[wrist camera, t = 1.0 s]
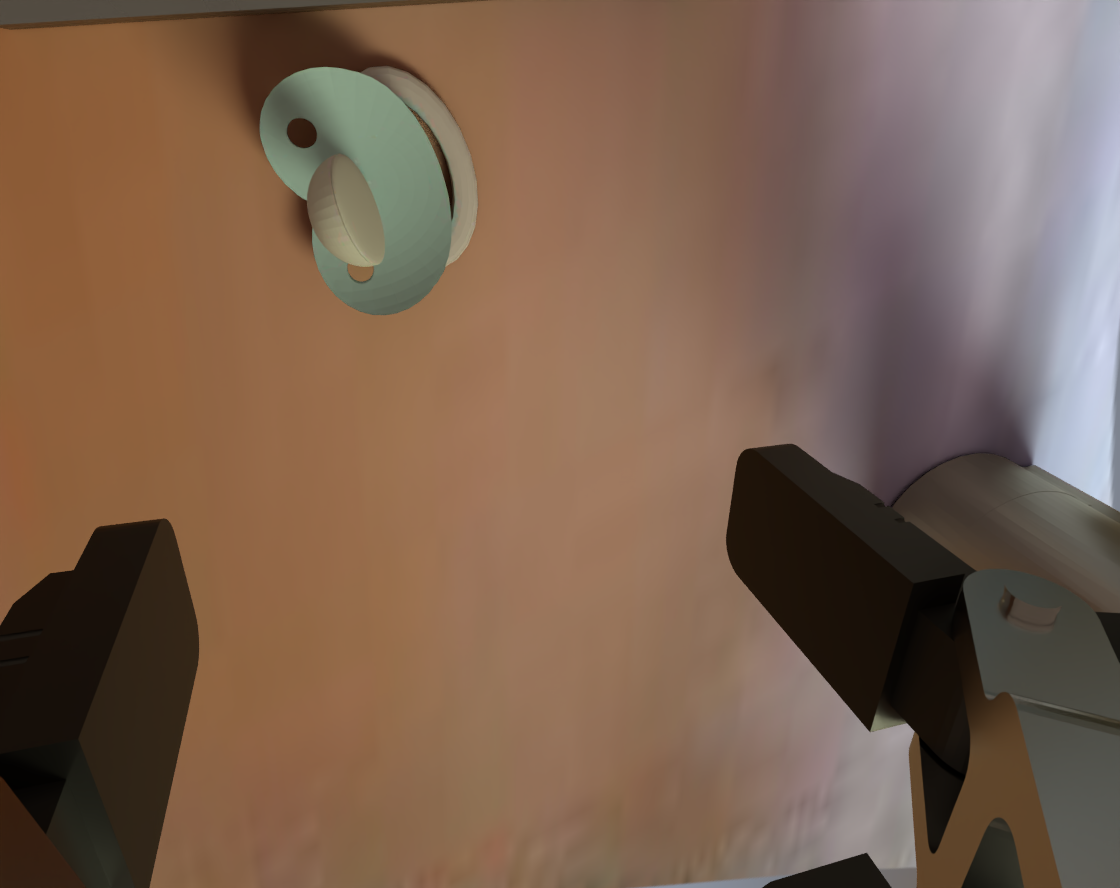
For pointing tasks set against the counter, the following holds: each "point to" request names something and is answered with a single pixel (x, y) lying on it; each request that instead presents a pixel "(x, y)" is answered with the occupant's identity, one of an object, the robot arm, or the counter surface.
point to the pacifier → (374, 180)
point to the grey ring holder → (165, 10)
